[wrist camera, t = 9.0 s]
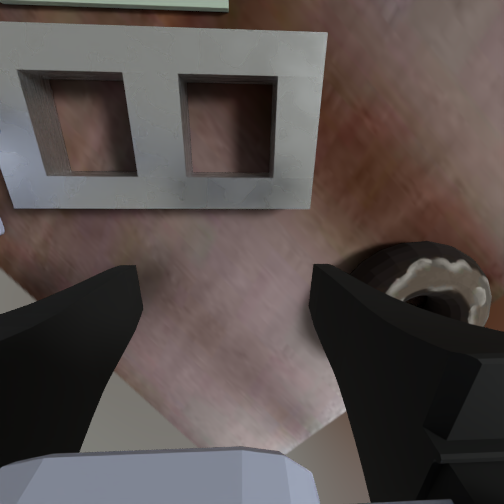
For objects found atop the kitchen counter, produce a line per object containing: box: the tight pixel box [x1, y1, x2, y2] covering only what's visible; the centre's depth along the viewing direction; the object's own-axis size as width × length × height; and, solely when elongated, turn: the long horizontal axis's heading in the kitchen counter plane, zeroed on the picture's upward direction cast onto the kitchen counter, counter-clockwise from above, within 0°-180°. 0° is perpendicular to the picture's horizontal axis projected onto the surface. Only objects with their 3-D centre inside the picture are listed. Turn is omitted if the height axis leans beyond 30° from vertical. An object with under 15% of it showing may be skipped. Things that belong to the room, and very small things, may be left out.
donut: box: [350, 241, 491, 327], centre depth 21 cm, size 12×12×4 cm
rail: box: [0, 22, 328, 209], centre depth 16 cm, size 18×9×2 cm, turn 89°
